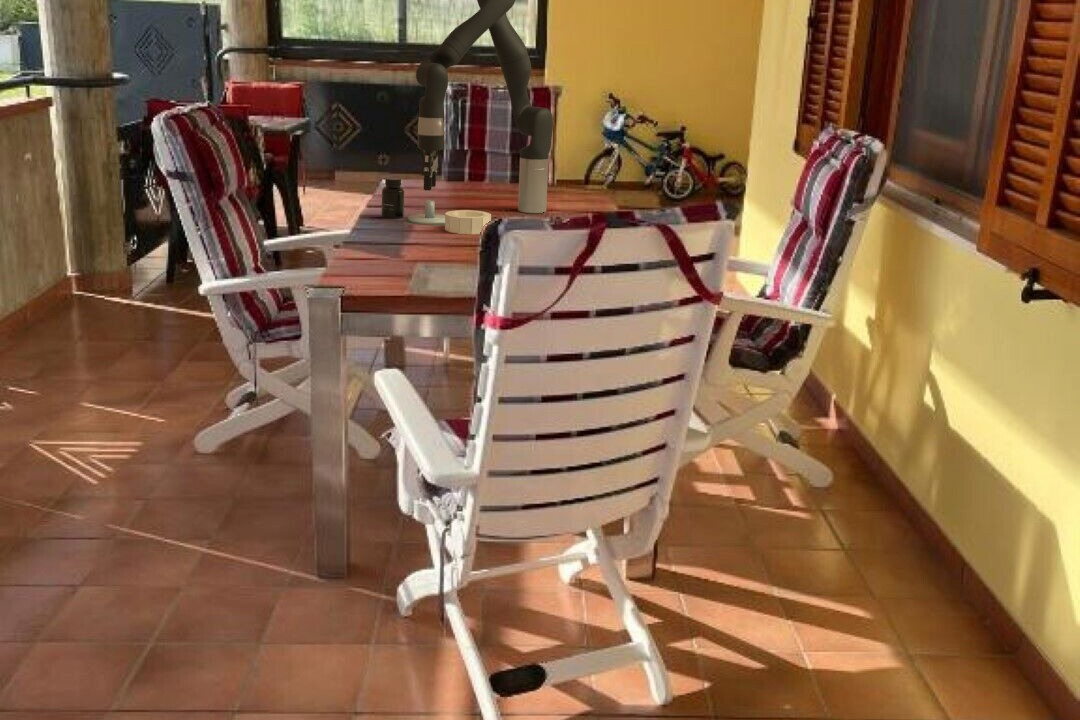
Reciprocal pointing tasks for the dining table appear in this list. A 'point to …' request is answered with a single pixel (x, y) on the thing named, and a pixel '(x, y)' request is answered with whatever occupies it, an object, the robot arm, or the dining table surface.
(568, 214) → the dining table surface
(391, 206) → the supplement bottle
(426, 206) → the lid
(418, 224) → the mat
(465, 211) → the bowl
